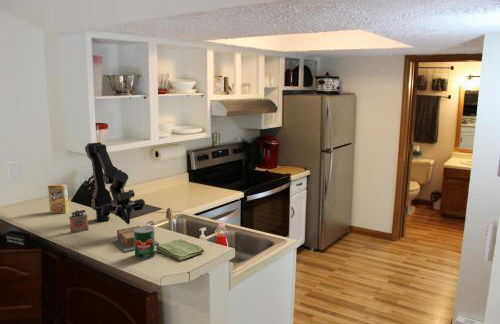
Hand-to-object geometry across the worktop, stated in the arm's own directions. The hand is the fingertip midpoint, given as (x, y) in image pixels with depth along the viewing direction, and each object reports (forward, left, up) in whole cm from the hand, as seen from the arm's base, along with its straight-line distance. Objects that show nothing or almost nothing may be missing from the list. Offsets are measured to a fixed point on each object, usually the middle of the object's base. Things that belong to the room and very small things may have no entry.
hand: (128, 223), depth 189 cm
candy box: (-53, -41, -7) cm, 67 cm away
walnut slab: (-2, -1, -4) cm, 5 cm away
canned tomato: (+21, +8, -7) cm, 24 cm away
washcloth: (+20, +22, -8) cm, 31 cm away
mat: (+6, +3, -7) cm, 10 cm away
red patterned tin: (-17, -24, -7) cm, 30 cm away
